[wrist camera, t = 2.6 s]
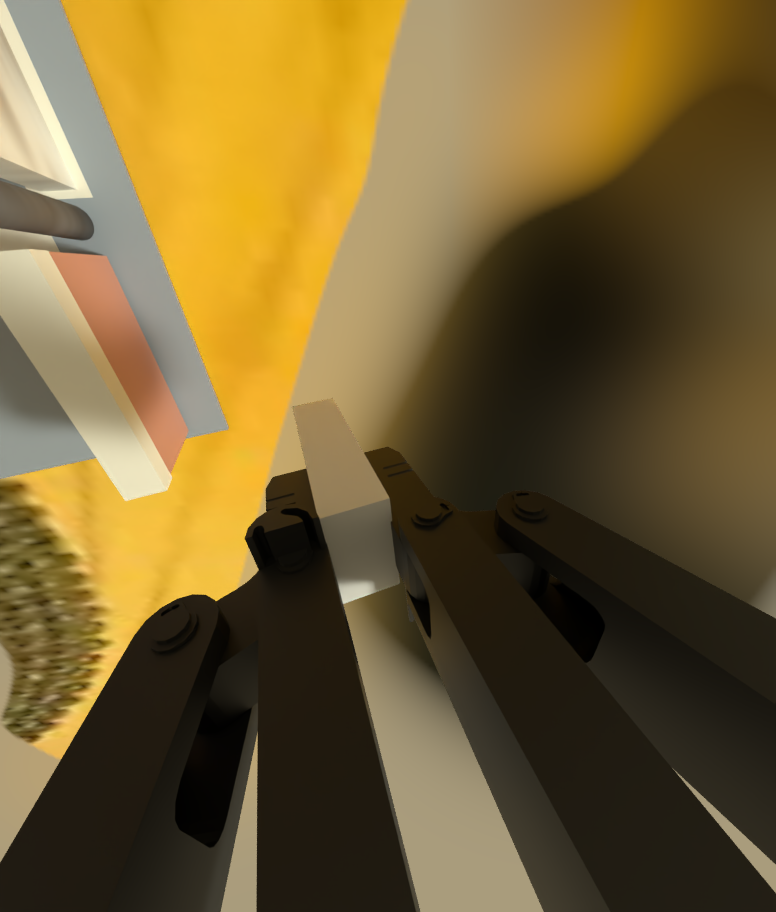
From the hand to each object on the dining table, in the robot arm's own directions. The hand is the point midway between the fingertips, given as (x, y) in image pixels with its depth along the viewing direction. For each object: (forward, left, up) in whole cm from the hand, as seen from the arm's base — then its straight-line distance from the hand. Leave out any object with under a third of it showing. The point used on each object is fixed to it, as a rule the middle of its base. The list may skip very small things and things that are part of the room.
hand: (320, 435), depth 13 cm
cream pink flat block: (-3, -7, -8) cm, 11 cm away
